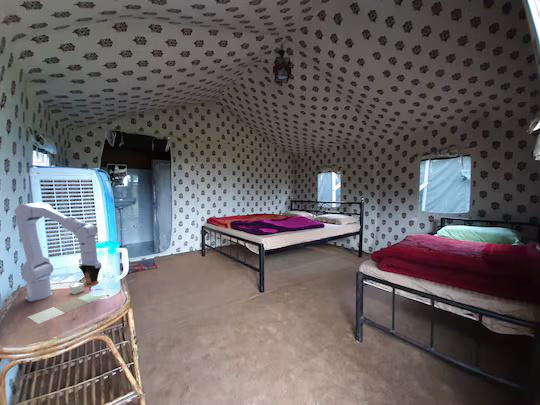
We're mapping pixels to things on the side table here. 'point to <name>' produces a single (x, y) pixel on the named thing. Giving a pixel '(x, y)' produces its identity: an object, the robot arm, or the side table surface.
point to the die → (76, 288)
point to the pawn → (89, 281)
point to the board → (64, 308)
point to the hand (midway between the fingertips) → (91, 280)
